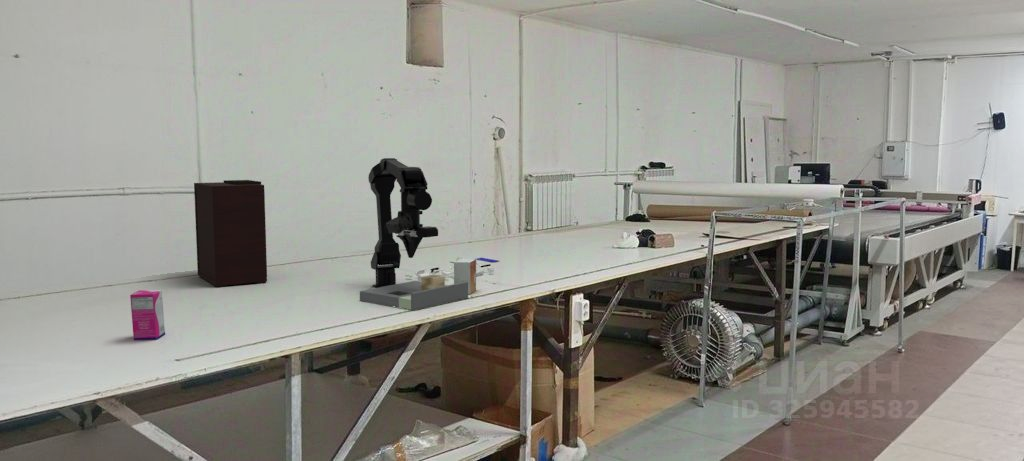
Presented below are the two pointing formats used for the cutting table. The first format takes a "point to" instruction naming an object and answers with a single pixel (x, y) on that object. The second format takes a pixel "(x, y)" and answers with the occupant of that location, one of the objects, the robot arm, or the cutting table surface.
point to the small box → (466, 273)
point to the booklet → (484, 260)
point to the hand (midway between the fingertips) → (410, 257)
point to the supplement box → (147, 314)
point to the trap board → (414, 295)
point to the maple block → (432, 282)
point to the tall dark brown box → (231, 232)
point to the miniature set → (421, 273)
